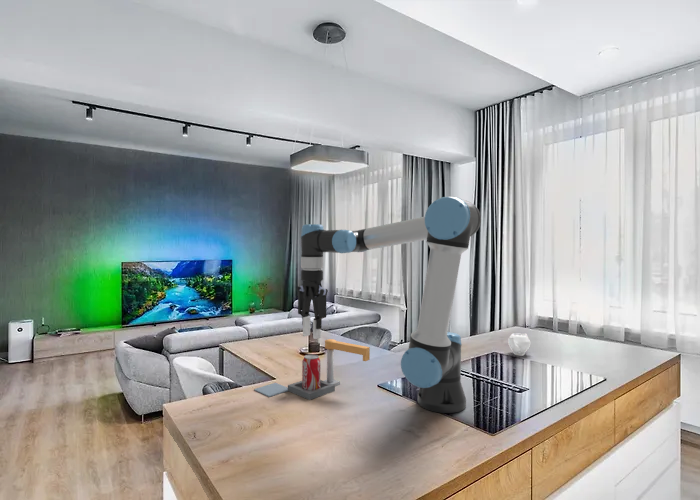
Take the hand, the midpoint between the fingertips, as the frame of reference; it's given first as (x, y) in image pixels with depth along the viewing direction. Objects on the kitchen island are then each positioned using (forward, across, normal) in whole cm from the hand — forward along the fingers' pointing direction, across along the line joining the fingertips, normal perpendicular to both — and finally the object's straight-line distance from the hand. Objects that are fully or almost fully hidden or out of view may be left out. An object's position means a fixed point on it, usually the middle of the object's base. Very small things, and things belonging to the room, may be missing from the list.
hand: (311, 336), depth 141 cm
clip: (+7, -7, -10) cm, 14 cm away
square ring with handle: (+19, 0, -3) cm, 19 cm away
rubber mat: (+19, +10, +9) cm, 23 cm away
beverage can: (+19, 0, 0) cm, 19 cm away
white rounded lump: (+19, -33, -98) cm, 105 cm away
